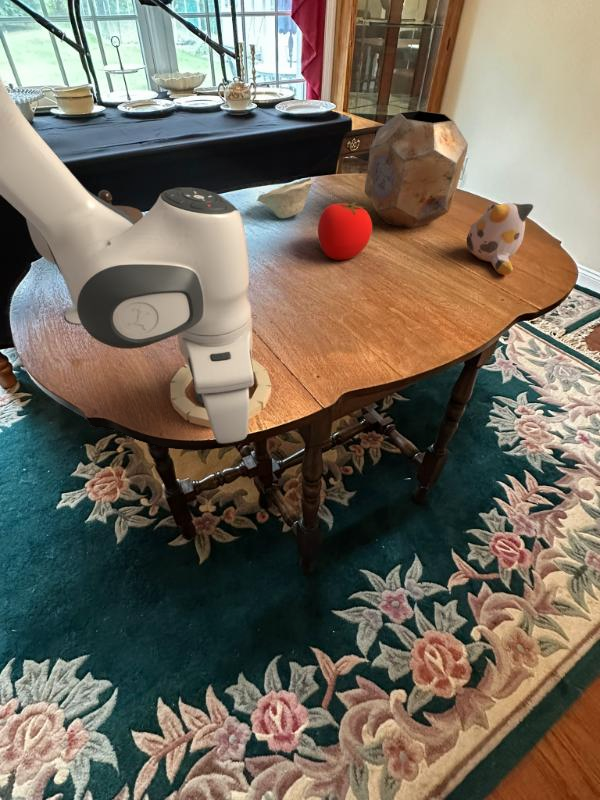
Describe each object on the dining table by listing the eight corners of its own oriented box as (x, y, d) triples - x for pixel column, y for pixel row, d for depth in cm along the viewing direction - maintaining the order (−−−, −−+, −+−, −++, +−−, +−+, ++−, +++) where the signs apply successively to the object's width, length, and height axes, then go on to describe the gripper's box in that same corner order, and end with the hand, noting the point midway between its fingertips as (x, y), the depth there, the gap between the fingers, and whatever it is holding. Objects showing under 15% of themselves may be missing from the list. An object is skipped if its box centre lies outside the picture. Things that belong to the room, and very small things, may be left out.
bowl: (284, 201, 124) (284, 163, 117) (322, 215, 117) (325, 176, 110) (246, 215, 115) (244, 175, 108) (285, 231, 109) (286, 190, 102)
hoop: (174, 434, 60) (172, 427, 59) (170, 366, 71) (168, 359, 70) (278, 418, 63) (279, 411, 62) (260, 355, 74) (260, 348, 72)
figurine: (504, 234, 107) (536, 185, 93) (519, 292, 101) (556, 249, 87) (456, 235, 107) (481, 186, 93) (469, 293, 101) (498, 250, 87)
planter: (354, 202, 125) (366, 104, 108) (436, 203, 127) (461, 108, 110) (367, 235, 109) (383, 127, 93) (460, 236, 111) (493, 130, 94)
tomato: (304, 258, 99) (306, 207, 91) (329, 237, 108) (333, 188, 100) (353, 272, 95) (360, 220, 87) (375, 248, 104) (383, 199, 96)
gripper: (183, 291, 58) (196, 369, 68) (195, 394, 44) (210, 474, 54) (230, 287, 59) (236, 364, 69) (256, 386, 45) (260, 465, 55)
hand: (225, 413), depth 61 cm, fingers open, 8 cm apart
